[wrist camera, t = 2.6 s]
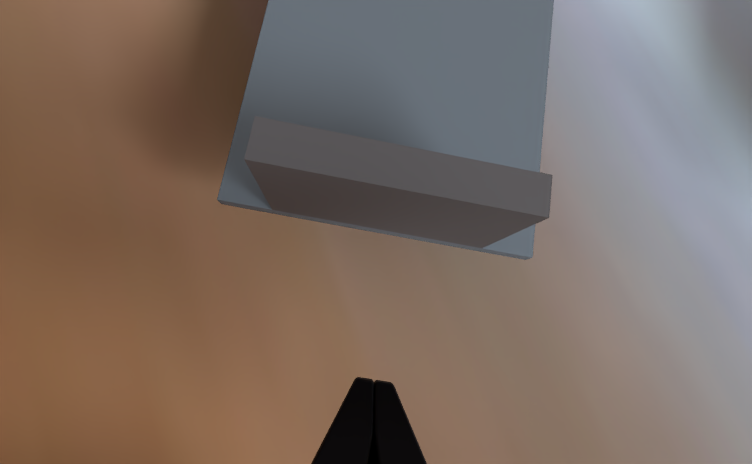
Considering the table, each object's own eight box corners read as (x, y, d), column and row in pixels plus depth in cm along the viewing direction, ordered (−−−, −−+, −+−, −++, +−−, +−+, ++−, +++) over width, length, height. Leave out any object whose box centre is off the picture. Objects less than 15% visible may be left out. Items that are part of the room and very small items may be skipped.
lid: (525, 259, 17) (620, 231, 11) (221, 203, 16) (162, 143, 10) (550, -32, 20) (635, -167, 14) (296, -91, 19) (282, -259, 13)
